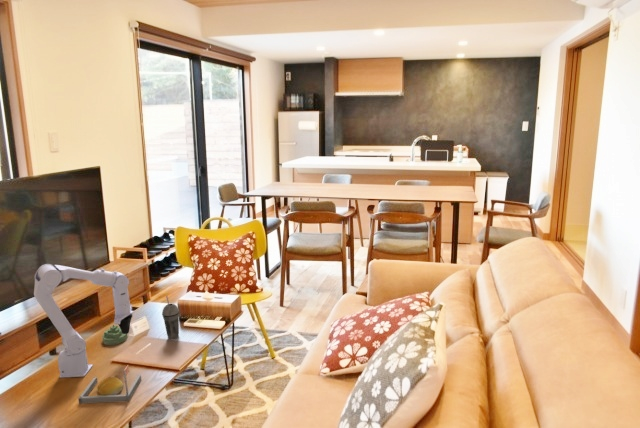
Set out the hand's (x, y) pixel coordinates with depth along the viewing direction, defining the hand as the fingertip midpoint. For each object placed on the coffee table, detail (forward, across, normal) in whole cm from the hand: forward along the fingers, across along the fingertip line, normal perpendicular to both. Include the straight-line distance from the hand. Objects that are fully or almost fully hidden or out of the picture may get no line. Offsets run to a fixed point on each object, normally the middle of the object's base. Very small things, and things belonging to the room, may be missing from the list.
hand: (125, 333), depth 194 cm
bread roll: (+10, -26, -2) cm, 27 cm away
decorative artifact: (+10, +14, +10) cm, 20 cm away
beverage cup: (+10, +13, -15) cm, 22 cm away
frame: (+9, -26, -3) cm, 28 cm away
